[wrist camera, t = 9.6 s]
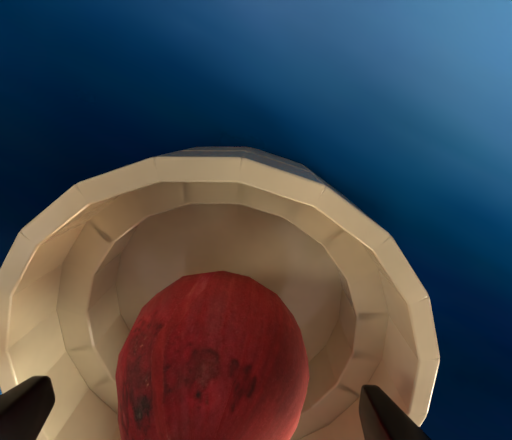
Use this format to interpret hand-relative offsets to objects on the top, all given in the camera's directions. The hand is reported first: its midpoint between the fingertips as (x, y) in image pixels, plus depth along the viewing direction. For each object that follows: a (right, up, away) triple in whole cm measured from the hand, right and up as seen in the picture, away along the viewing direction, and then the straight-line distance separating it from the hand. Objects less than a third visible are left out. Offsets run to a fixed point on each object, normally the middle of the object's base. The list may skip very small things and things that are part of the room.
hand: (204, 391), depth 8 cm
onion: (0, +1, +5) cm, 5 cm away
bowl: (0, +2, +5) cm, 5 cm away
